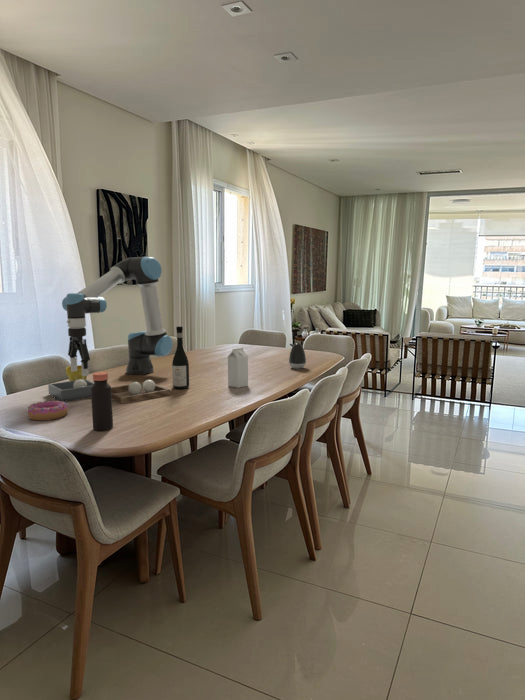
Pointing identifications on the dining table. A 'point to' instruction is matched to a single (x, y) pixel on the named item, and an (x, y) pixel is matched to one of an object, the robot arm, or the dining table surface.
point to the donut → (47, 410)
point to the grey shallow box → (70, 390)
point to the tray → (158, 393)
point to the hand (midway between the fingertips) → (79, 373)
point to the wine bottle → (180, 364)
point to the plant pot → (75, 373)
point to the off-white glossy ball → (79, 383)
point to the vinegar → (101, 402)
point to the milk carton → (238, 368)
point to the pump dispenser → (297, 356)
